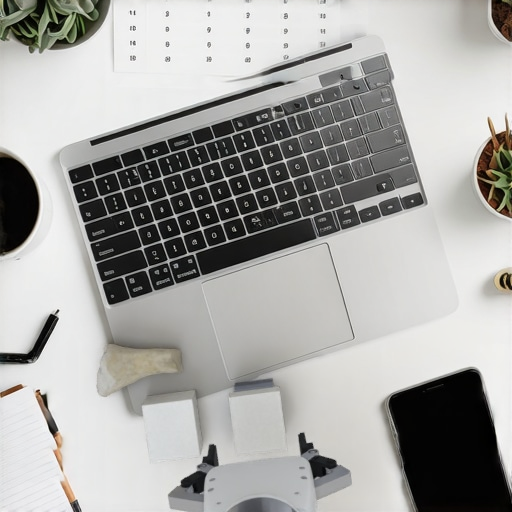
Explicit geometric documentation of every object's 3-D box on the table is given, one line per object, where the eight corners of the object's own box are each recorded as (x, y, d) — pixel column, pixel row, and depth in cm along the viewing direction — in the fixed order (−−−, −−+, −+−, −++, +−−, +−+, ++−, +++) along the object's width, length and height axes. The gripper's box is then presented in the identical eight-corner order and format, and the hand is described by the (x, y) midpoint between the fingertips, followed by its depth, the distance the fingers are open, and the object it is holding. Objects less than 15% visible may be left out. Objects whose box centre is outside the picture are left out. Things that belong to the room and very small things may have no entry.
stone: (103, 393, 73) (93, 405, 69) (87, 348, 73) (76, 358, 68) (185, 367, 73) (180, 377, 68) (169, 321, 73) (163, 329, 68)
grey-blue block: (280, 436, 74) (281, 446, 71) (242, 441, 74) (242, 451, 71) (272, 378, 73) (273, 385, 70) (234, 383, 73) (234, 390, 70)
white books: (202, 445, 74) (200, 457, 71) (155, 451, 74) (150, 463, 71) (195, 389, 74) (192, 399, 70) (146, 396, 74) (141, 405, 70)
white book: (286, 444, 71) (287, 450, 69) (236, 450, 71) (236, 456, 69) (279, 386, 70) (279, 390, 69) (228, 392, 70) (228, 397, 69)
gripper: (158, 607, 44) (184, 494, 61) (377, 579, 44) (341, 473, 61) (144, 517, 43) (174, 428, 60) (366, 489, 43) (333, 407, 60)
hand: (258, 451), depth 61 cm, fingers open, 9 cm apart
